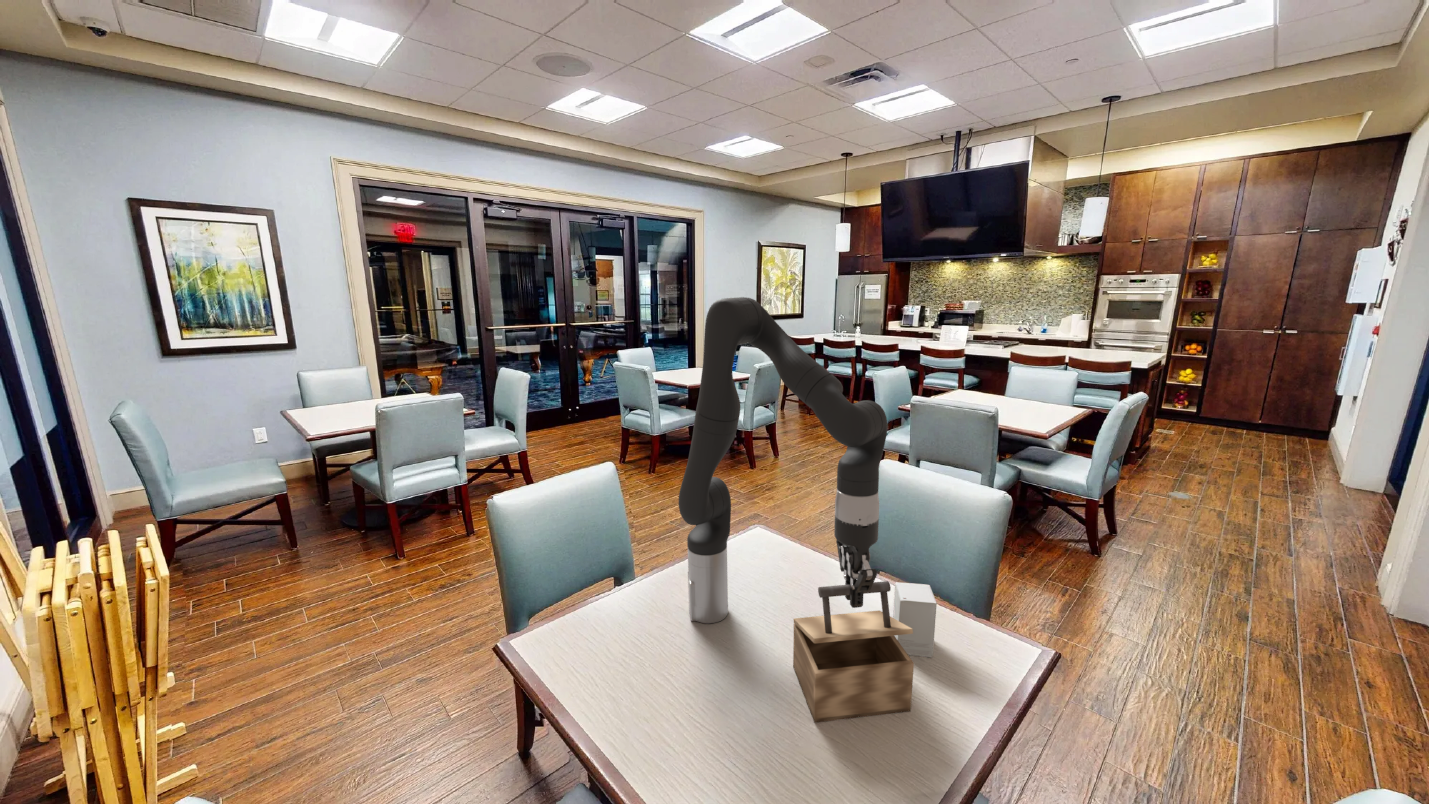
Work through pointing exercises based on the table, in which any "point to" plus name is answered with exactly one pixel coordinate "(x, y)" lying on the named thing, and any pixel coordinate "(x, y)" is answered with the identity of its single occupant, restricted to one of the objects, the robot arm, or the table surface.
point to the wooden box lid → (851, 619)
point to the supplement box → (916, 617)
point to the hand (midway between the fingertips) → (853, 602)
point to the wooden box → (853, 676)
